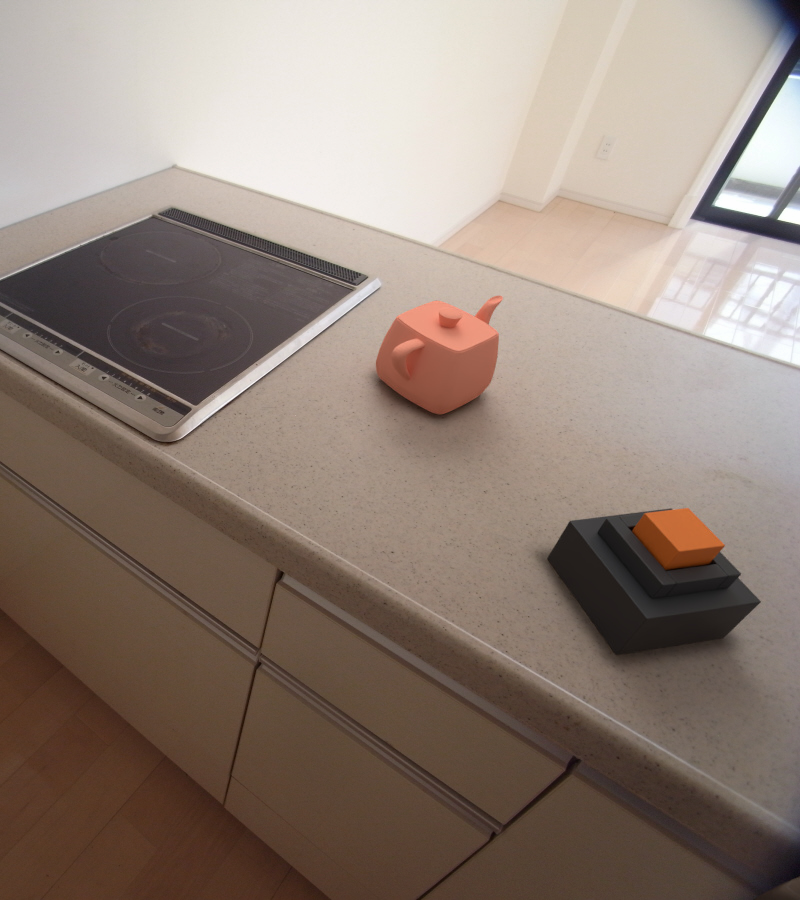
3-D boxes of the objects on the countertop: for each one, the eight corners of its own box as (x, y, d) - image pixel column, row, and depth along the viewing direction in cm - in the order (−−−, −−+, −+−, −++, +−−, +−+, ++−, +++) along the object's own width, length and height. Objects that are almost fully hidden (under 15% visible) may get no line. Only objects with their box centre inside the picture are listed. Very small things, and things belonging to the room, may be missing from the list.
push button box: (724, 638, 53) (776, 587, 49) (615, 655, 52) (659, 605, 47) (643, 545, 61) (682, 493, 56) (546, 558, 59) (578, 506, 55)
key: (709, 564, 51) (726, 545, 49) (664, 570, 50) (679, 551, 49) (673, 526, 54) (688, 507, 52) (630, 532, 53) (644, 512, 52)
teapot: (346, 385, 79) (362, 309, 72) (442, 341, 87) (465, 269, 80) (418, 436, 72) (444, 358, 65) (516, 384, 80) (548, 309, 73)
